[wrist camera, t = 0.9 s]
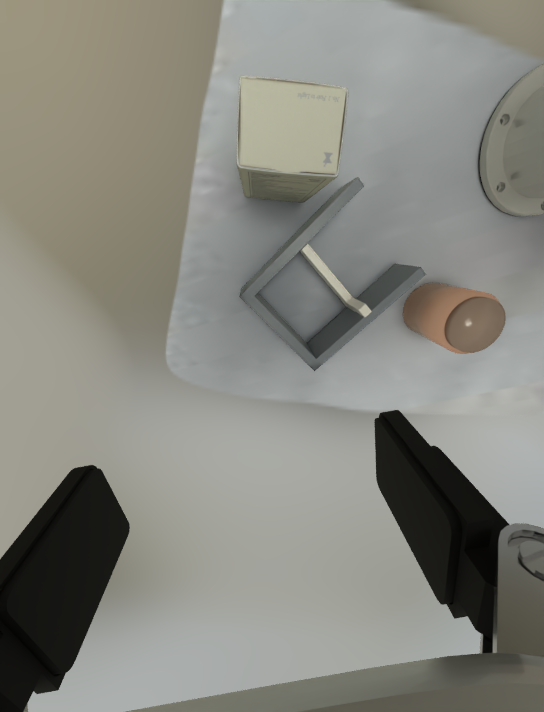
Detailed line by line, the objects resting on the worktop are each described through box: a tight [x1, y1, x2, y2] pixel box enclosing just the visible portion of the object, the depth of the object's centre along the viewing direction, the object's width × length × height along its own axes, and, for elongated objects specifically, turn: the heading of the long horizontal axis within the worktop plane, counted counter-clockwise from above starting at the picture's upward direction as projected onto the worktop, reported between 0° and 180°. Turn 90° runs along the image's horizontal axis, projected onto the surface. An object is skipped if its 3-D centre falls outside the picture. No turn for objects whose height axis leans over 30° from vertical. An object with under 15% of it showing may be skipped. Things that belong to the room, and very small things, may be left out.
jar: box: [403, 283, 505, 354], centre depth 30 cm, size 6×6×8 cm
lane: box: [240, 177, 426, 371], centre depth 29 cm, size 14×11×5 cm
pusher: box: [300, 243, 372, 317], centre depth 28 cm, size 1×8×6 cm, turn 44°
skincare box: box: [237, 76, 348, 202], centre depth 21 cm, size 6×4×12 cm
